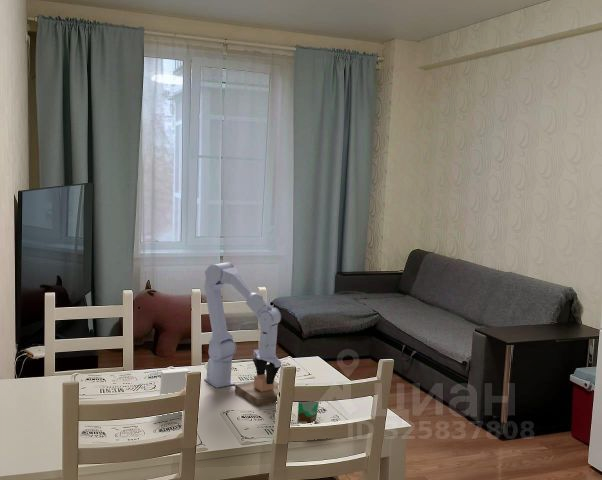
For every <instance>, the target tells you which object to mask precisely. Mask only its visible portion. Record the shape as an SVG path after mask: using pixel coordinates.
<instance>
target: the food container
mask: <svg viewBox="0 0 602 480" xmlns="http://www.w3.org/2000/svg"><path fill="white" fill-rule="evenodd" d="M306 385H308V384H305V386H306ZM297 404H298V407H297V422H296V423H311V422H313V421H315V420H316V421H317V414H318V410H319V404H320V401H319V402H297Z"/></svg>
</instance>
